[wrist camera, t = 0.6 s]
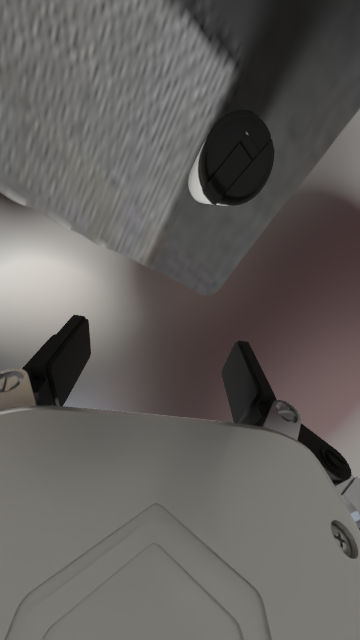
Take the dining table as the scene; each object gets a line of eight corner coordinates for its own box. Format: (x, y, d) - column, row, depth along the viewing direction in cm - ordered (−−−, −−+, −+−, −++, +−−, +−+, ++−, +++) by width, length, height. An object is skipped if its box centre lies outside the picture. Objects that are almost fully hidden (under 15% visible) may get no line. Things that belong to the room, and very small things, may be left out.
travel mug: (179, 185, 32) (182, 167, 15) (207, 147, 29) (248, 74, 12) (204, 213, 34) (230, 225, 17) (232, 180, 32) (295, 157, 15)
